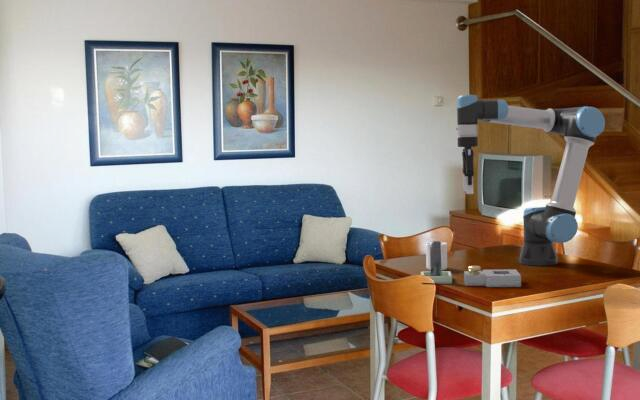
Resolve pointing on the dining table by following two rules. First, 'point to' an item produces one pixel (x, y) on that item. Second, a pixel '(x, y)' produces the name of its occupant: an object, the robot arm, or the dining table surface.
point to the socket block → (493, 278)
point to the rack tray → (440, 277)
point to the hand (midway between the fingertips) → (468, 192)
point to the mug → (443, 255)
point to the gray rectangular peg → (435, 258)
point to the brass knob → (474, 269)
